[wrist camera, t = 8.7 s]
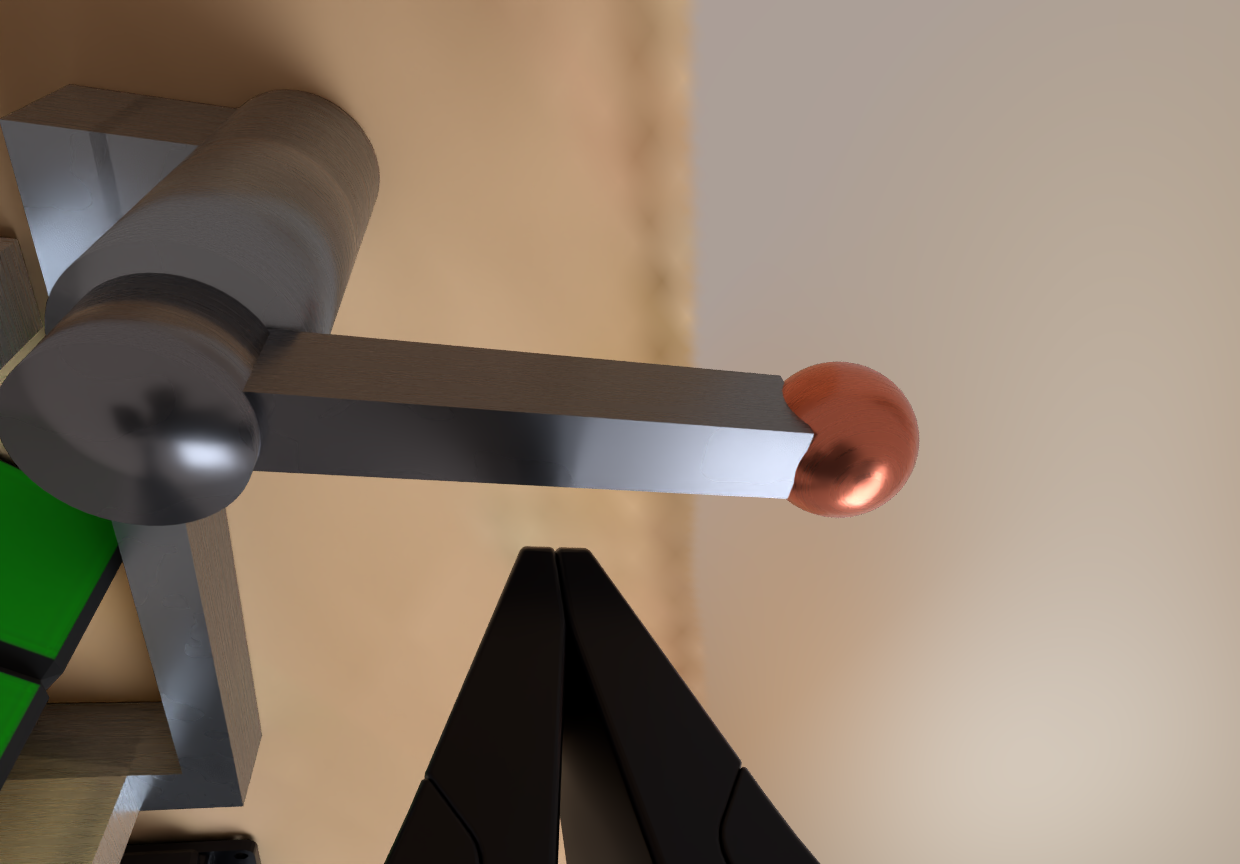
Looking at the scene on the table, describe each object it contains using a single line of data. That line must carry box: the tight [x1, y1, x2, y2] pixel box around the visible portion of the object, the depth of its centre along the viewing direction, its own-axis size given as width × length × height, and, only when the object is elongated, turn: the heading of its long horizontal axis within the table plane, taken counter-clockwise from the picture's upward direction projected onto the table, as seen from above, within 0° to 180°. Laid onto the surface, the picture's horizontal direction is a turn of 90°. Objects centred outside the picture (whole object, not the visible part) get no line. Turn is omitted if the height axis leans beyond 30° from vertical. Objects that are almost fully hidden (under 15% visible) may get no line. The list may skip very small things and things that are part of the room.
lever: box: [0, 273, 919, 526], centre depth 10 cm, size 11×2×2 cm, turn 79°
